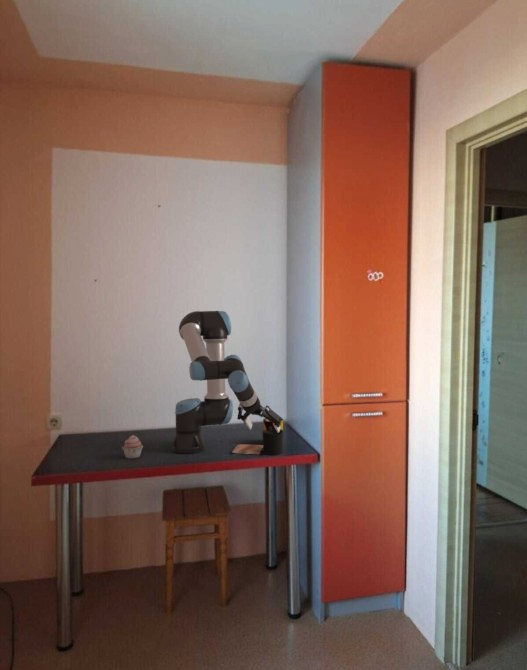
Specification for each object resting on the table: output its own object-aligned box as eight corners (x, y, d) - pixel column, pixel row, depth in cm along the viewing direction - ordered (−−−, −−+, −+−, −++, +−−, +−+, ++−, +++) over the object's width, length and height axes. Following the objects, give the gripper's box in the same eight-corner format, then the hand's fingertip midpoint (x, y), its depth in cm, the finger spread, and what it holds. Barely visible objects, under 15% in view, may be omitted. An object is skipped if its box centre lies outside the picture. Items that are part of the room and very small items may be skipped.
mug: (268, 449, 235) (268, 424, 234) (261, 442, 248) (260, 418, 247) (288, 448, 237) (288, 422, 236) (279, 440, 250) (279, 416, 250)
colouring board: (232, 454, 228) (232, 451, 228) (238, 446, 240) (237, 443, 240) (259, 455, 226) (259, 452, 226) (263, 447, 238) (263, 444, 238)
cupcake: (126, 461, 219) (126, 438, 218) (119, 456, 226) (118, 434, 226) (147, 457, 224) (146, 435, 224) (138, 452, 232) (138, 431, 231)
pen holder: (281, 456, 224) (281, 434, 224) (260, 455, 226) (260, 433, 226) (284, 450, 234) (284, 429, 233) (264, 449, 236) (264, 428, 235)
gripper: (219, 405, 209) (236, 433, 223) (274, 410, 199) (288, 438, 213) (225, 390, 214) (242, 418, 228) (279, 394, 203) (293, 423, 217)
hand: (264, 428), depth 220 cm, fingers open, 13 cm apart
